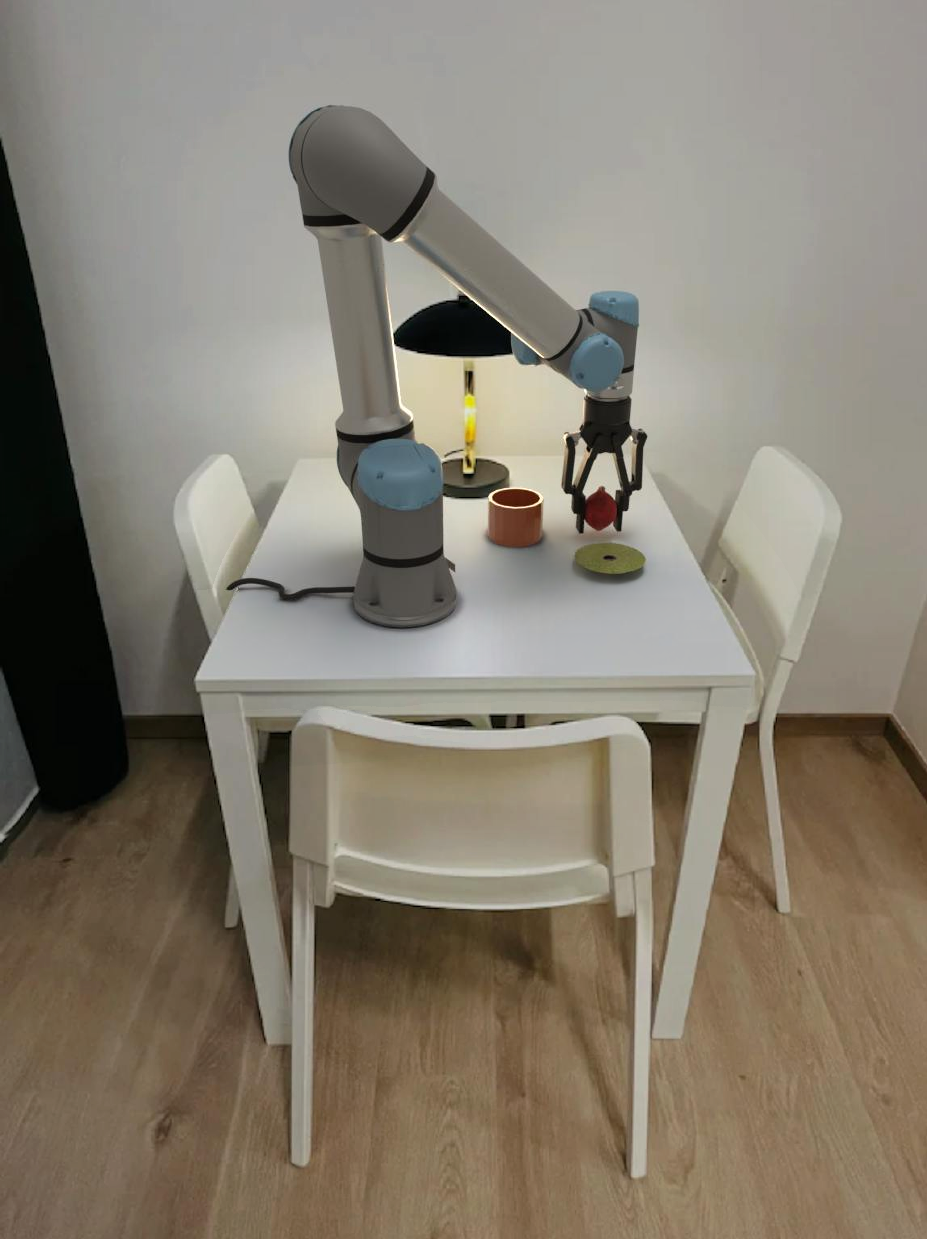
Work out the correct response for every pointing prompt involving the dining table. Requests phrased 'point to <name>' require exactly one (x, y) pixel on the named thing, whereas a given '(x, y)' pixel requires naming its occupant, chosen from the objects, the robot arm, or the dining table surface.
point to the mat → (609, 558)
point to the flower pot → (515, 517)
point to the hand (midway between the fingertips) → (598, 529)
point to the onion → (600, 509)
